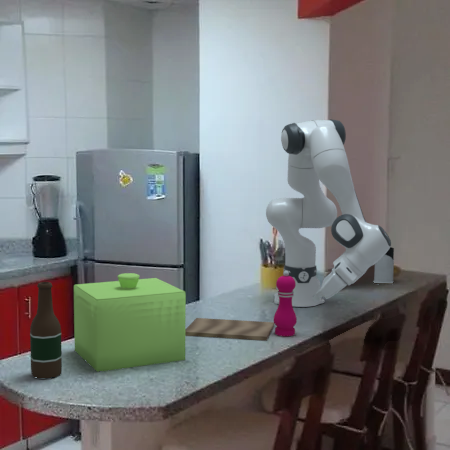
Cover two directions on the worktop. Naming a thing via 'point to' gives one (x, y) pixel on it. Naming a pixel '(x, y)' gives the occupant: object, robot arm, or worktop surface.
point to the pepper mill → (285, 306)
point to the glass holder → (385, 268)
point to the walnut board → (230, 329)
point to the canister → (129, 322)
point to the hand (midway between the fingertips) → (313, 299)
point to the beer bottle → (45, 337)
